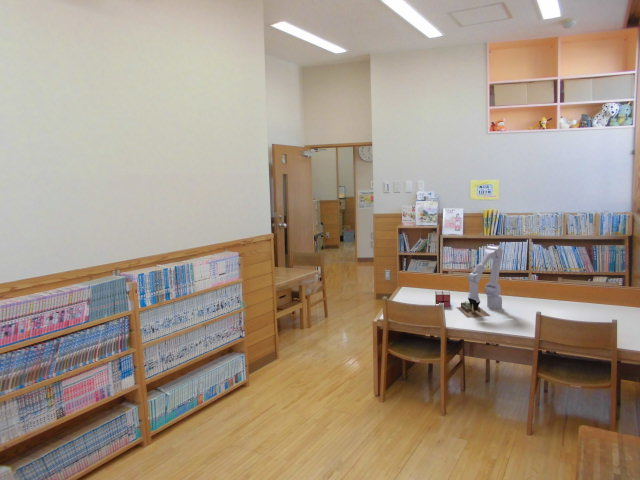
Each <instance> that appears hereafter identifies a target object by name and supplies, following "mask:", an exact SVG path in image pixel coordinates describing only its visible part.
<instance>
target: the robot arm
mask: <svg viewBox="0 0 640 480" xmlns="http://www.w3.org/2000/svg"><path fill="white" fill-rule="evenodd" d="M503 253H504V251H503V249H502V247H499V246H492V245H487V246H486V248H485V249H484V255H483V257H482V259H481V261H480V263H477V264H476V265H475V267H474V268H473V270H472V272H470V273H469V274H468V276H467V280H468V284H469V293H468V296H467V301H469V302H470V306H471V308H472V304H473V309H474V311H477V309H478V306H479V305H480V303H481V300H480V297H479V282H480V281H481V279H482V278H481V277H482V275H483V272H484V271H485V267H486V265H487V263H488V262H489V261H490V259H492V263H491V270H490V277H489V281H488V282H486V284H485V287H484V293H485V295H486V298H487V299H486V301H487V302H486V306H487V308H489V309H500V310H501V309H503V298H502V295H501V293H502V292H501V291H502V289H501V287H502V286H501V285H500V284H499V275H500V270H501V263H502V258H503ZM479 307H480V306H479Z"/></svg>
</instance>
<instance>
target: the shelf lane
mask: <svg viewBox="0 0 640 480" xmlns="http://www.w3.org/2000/svg"><path fill="white" fill-rule="evenodd" d="M455 309H457V310H458V311H459V312H460V313H462V314H463V315H464V316H465V317H466V318H483V317H491V315H490V314H489V313H488V312H486V311H485V310H484V309H483V308H482V307H480V306H478V309H477V311H476V313H473V312H472V310H468V308H467V307H466V306H465V301H463V302H460V306H459V307H458V306H456V307H455Z"/></svg>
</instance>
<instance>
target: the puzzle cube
mask: <svg viewBox="0 0 640 480" xmlns="http://www.w3.org/2000/svg"><path fill="white" fill-rule="evenodd" d="M434 298H435V302H434V303H435V305H436V304H439V303H444V306H445V307H444V308H450V307H451V293H450V291H449V290H435V297H434Z"/></svg>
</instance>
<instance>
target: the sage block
mask: <svg viewBox="0 0 640 480" xmlns="http://www.w3.org/2000/svg"><path fill="white" fill-rule="evenodd" d="M464 302H465V306H466V307H467V308H468V310H472V312H473V313H476V311H474V309H473V304H472V308H471V306H470V302H469V300H465V301H464Z"/></svg>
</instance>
